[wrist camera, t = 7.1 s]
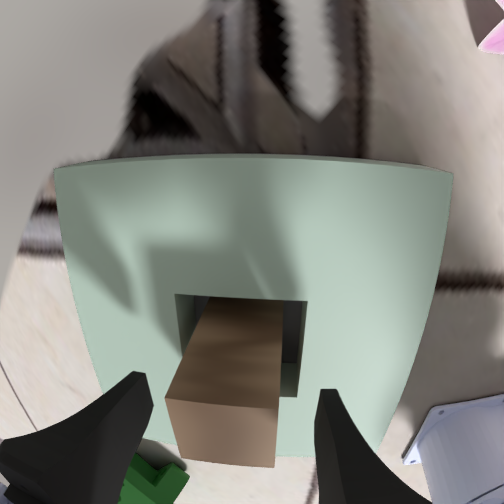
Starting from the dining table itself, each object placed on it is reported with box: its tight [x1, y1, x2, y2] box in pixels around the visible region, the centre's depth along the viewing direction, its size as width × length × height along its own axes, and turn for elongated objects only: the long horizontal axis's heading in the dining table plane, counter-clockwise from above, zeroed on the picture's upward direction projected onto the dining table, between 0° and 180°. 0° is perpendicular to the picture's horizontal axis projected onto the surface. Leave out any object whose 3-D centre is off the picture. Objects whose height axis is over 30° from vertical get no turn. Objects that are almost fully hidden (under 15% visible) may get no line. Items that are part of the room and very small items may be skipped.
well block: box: [54, 153, 453, 457], centre depth 17 cm, size 18×18×4 cm
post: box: [164, 296, 284, 468], centre depth 15 cm, size 4×4×8 cm
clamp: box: [118, 453, 190, 504], centre depth 24 cm, size 12×6×9 cm, turn 136°
